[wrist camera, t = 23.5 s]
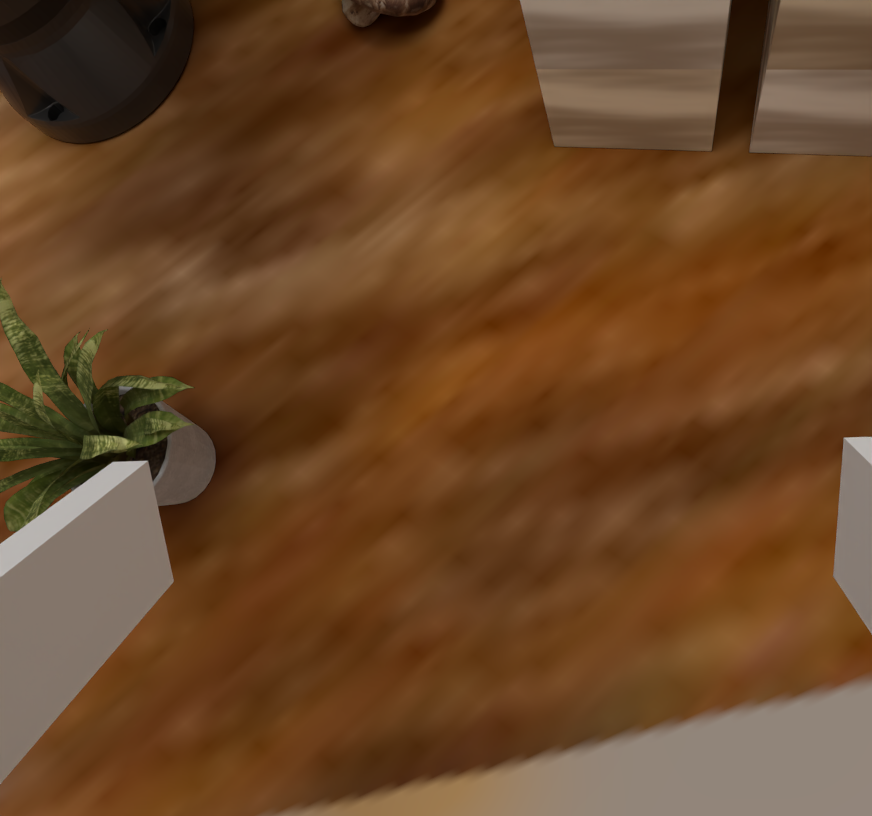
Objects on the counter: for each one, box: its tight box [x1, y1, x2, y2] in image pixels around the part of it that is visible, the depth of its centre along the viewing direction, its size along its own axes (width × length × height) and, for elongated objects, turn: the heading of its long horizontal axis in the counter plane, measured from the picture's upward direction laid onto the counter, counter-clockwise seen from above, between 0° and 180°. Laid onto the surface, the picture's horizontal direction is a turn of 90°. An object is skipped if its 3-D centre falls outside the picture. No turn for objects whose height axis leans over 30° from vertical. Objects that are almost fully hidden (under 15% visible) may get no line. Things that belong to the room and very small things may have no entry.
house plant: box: [0, 277, 216, 532], centre depth 42 cm, size 14×14×16 cm
